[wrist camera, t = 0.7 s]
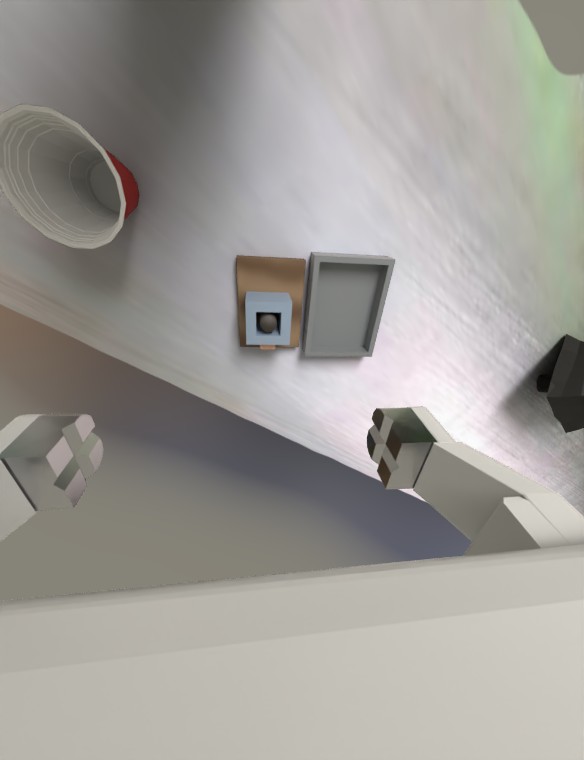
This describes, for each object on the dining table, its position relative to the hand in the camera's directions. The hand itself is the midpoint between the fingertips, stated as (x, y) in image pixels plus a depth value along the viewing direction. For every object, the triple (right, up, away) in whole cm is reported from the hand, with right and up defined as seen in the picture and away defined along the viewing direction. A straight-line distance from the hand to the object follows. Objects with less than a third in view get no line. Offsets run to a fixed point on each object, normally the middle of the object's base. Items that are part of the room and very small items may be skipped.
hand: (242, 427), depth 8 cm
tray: (+10, +14, +39) cm, 42 cm away
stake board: (-2, +14, +37) cm, 40 cm away
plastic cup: (-21, +26, +27) cm, 43 cm away
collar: (-2, +12, +36) cm, 38 cm away
